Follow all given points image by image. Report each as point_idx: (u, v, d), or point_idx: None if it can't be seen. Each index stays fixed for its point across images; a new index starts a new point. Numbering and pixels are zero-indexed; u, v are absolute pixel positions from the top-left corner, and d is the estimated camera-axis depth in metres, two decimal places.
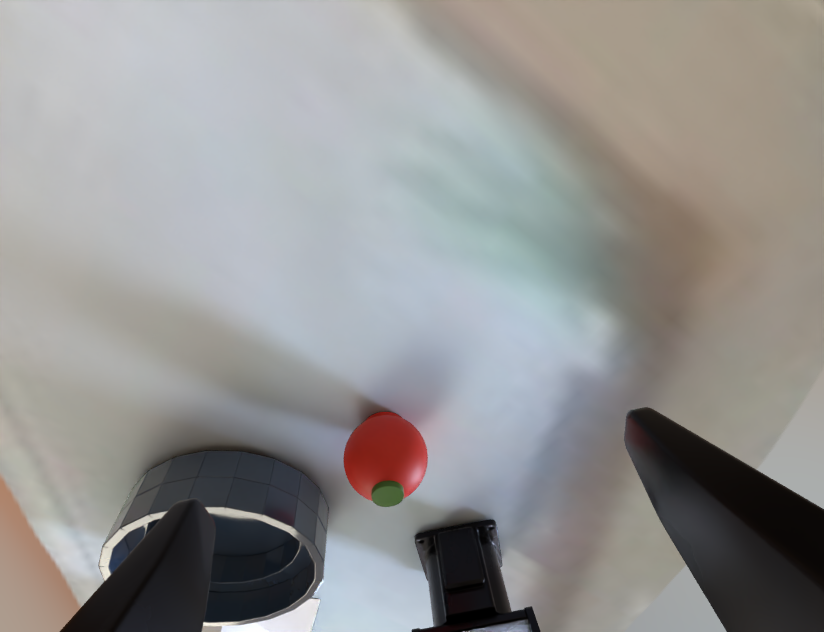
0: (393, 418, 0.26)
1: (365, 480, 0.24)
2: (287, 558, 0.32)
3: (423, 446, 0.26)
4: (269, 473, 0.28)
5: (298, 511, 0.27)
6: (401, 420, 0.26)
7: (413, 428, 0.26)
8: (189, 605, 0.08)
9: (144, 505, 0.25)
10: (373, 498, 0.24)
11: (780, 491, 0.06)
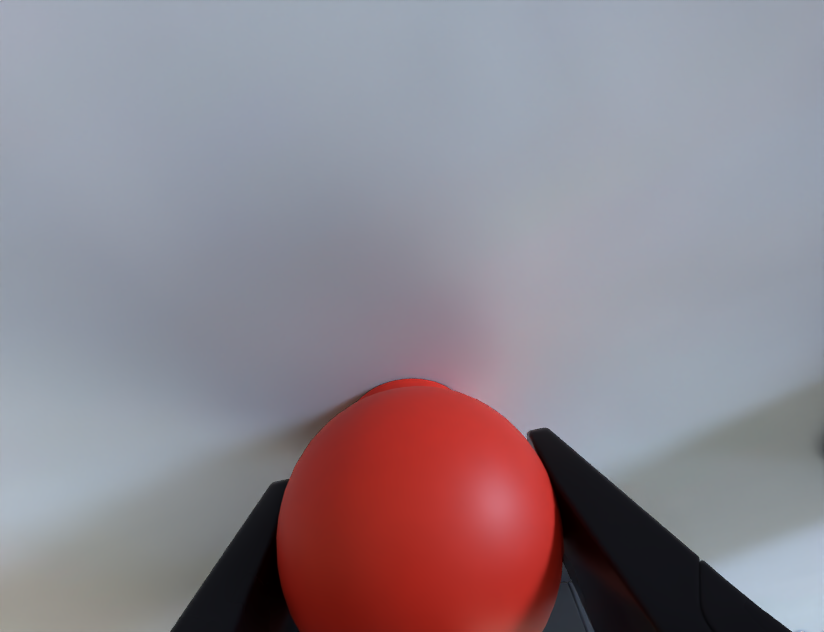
0: (313, 438, 0.08)
1: None
2: None
3: (414, 440, 0.07)
4: None
5: None
6: (328, 424, 0.08)
7: (359, 416, 0.07)
8: None
9: None
10: None
11: (641, 518, 0.06)
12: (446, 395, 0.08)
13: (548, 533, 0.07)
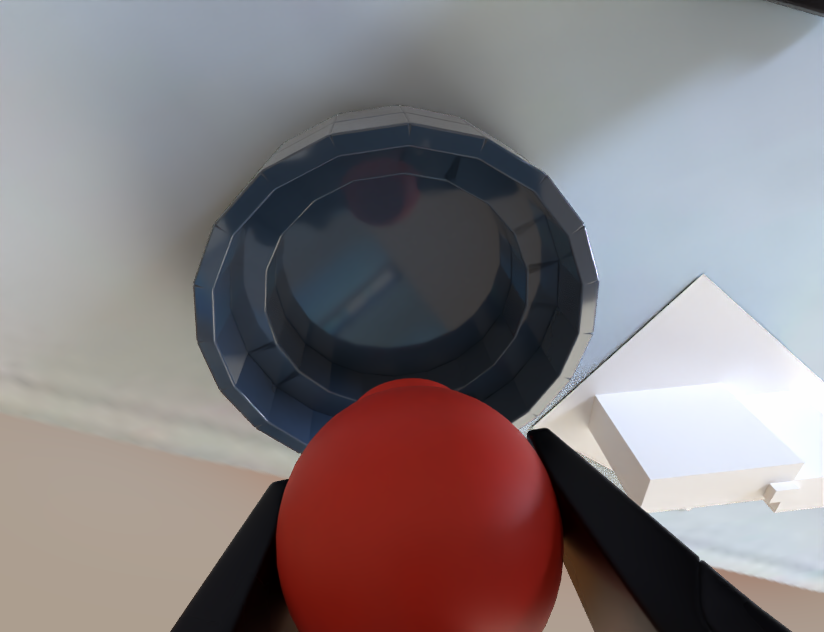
0: (313, 438, 0.08)
1: None
2: (515, 245, 0.16)
3: (414, 439, 0.07)
4: (275, 153, 0.14)
5: (340, 125, 0.12)
6: (328, 424, 0.08)
7: (359, 415, 0.07)
8: None
9: None
10: None
11: (641, 518, 0.06)
12: (446, 394, 0.08)
13: (548, 533, 0.07)
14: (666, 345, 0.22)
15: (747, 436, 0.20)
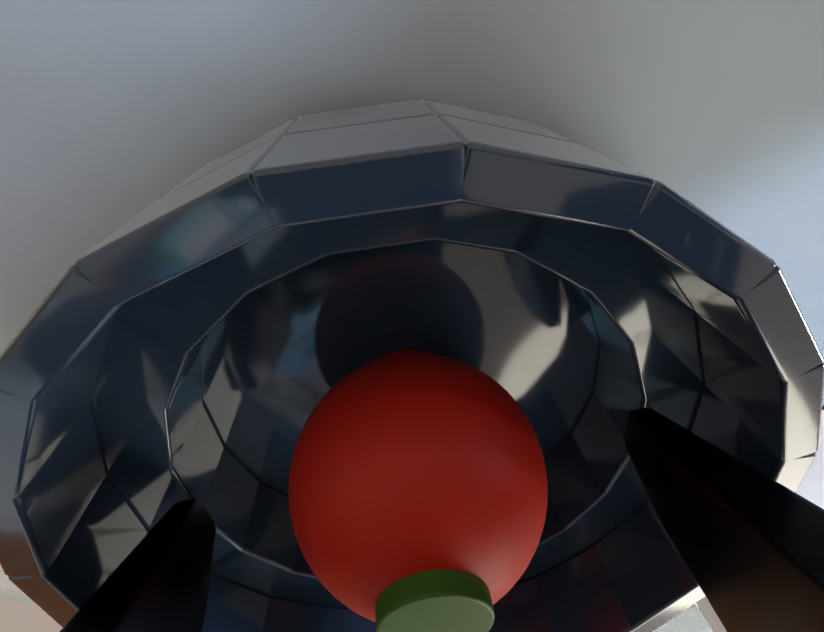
0: (321, 399, 0.09)
1: (365, 617, 0.07)
2: (623, 354, 0.09)
3: (413, 392, 0.07)
4: None
5: (288, 145, 0.05)
6: (335, 385, 0.09)
7: (363, 375, 0.08)
8: (189, 605, 0.08)
9: None
10: None
11: (780, 491, 0.06)
12: (442, 358, 0.09)
13: (532, 476, 0.07)
14: None
15: None
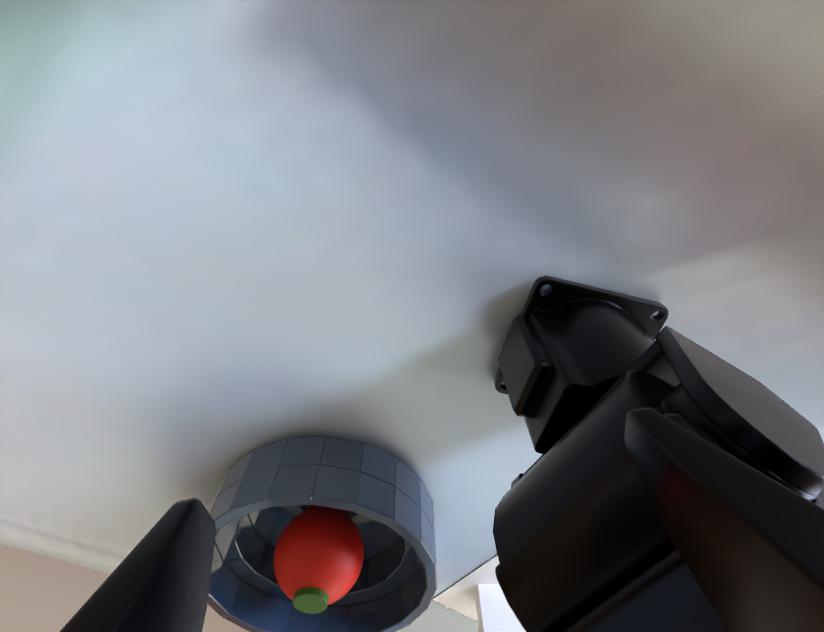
0: (289, 522, 0.25)
1: (293, 600, 0.24)
2: None
3: (314, 530, 0.24)
4: (247, 466, 0.24)
5: (278, 479, 0.22)
6: (293, 519, 0.25)
7: (302, 519, 0.25)
8: (189, 605, 0.08)
9: None
10: (306, 612, 0.23)
11: (780, 491, 0.06)
12: (330, 514, 0.25)
13: (348, 561, 0.24)
14: None
15: None
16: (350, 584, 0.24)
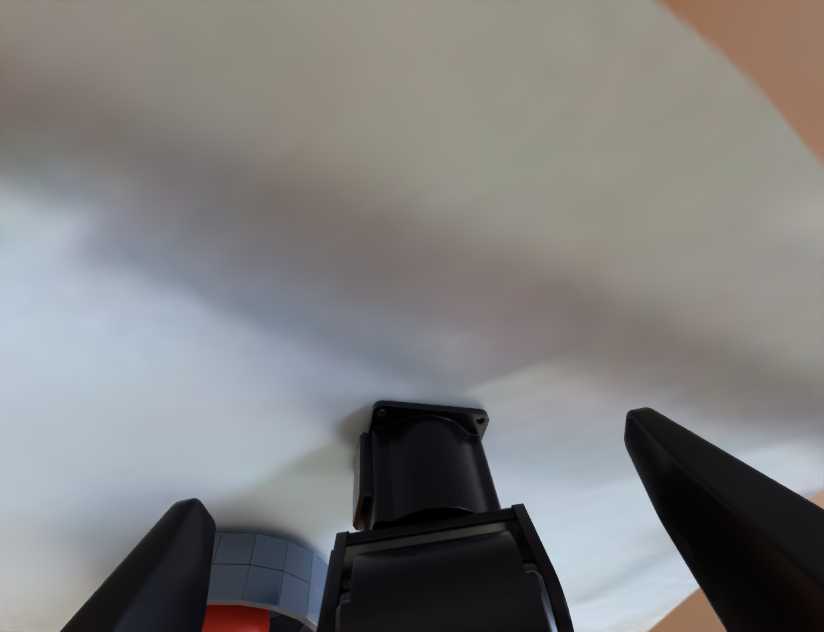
0: None
1: None
2: None
3: (218, 613, 0.28)
4: None
5: None
6: None
7: None
8: (189, 605, 0.08)
9: None
10: None
11: (780, 491, 0.06)
12: None
13: None
14: None
15: None
16: None
